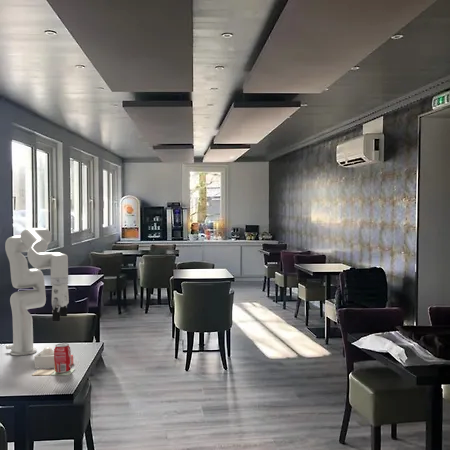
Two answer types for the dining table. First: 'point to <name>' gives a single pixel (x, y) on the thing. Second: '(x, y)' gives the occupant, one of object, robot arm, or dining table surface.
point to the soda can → (62, 358)
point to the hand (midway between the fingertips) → (59, 318)
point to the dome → (47, 352)
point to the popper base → (44, 361)
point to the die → (71, 359)
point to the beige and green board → (50, 372)
